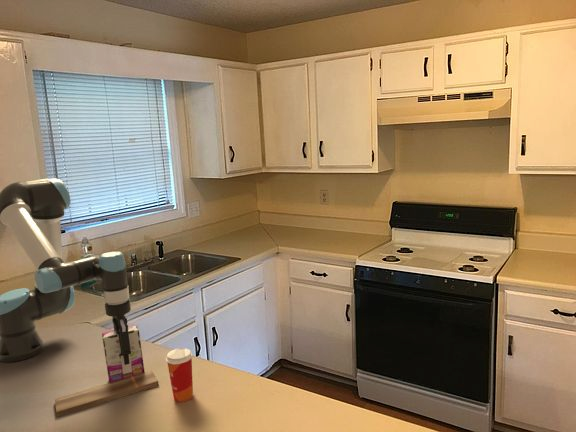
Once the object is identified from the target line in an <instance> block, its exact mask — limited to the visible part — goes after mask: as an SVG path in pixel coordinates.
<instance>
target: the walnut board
mask: <svg viewBox="0 0 576 432" xmlns="http://www.w3.org/2000/svg"><path fill="white" fill-rule="evenodd" d="M157 386H160V385H159V380H158V378H157V377H156V374H155V373H154V372H153V370H149V371H145V373H141V374H138V375H134V376H131V377H128V378H124V379H121V380H117V381H114V382H111V383H109V382H108V383H107V382H106V383H105V384H101V385H97V386H95V387H90V388H86V389H83V390H81V391H76V392H73V393H70V394H67V395H63V396H60V397H56V398H54V405H55V410H56V411H55V413H56V417H57V418H58V417H62V416H64V415H67V414H71V413H74V412H77V411H80V410H85V409H87V408H91V407H93V406H96V405H100V404H104V403H106V402H109V401H113V400H116V399H119V398H122V397H125V396H129V395H132V394H135V393H138V392H141V391H145V390H147V389H151V388H155V387H157Z"/></svg>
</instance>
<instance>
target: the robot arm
mask: <svg viewBox="0 0 576 432" xmlns="http://www.w3.org/2000/svg"><path fill="white" fill-rule="evenodd" d="M70 205H71V196H70V192H69V190H68V188H67V185H66V184H65V182H63V181H62V180H61V179H58V178H41V179H34V180H28V181H26V180H25V181H17V182H13V183H10V184H8V185H6V186H4V187H3V189H2V190H1V191H0V222H1V224H3V225H5V226H7V227H8V228H9V230H10V231H11V232H12V234H13V236H14V238H16V240H17V242H18V243H19V245H20V247H22V249H23V251H24V252H25V254H26V255H27V257H28V258H29V260H30V261H31V263H32V264H33V265H34V267H35V269H36V271H35V273H34V284H33V285H34V289H32V290H30V289H29V288H28V287H27V288H26V287H20V288H18V289H17V288H16V289H12V290H9V291H6V292H4V293H3V294H0V362H3V363H15V362H20V361H23V360H28V359H29V358H32V357H35V356H36V355H39V354H40V353H41V352H42V351H43V350H44V349H45V345H44V341H43V339H42V338H41V337H42V336H40V333H39V332H38V331H37V329H36V322H37V321H41V320H43V319H46V318H49V317H53V316H56V315H59V314H62V313H64V312H66V311H69V310H70V309H72V307H73V306H74V304H75V300H76V292H75V289H74V286H77V285H81V284H84V283H88V282H92V281H95V280H98V281H101V285H102V286H101V287H102V292H103V293H101V294H100V295H101V297H103V300H104V309H105V314H106V316H108V317H112V318H111V321H112V324H113V330H116V333H117V334H118V335H119V342H120V348H121V354H119V356H121V361H122V369H123V374H126V373H129V372H132V366H131V358H130V354H131V350H130V342H129V334H128V327H129V325H128V319H127V317H126V314H129V313H130V312H131V309H132V307H131V300H130V290H129V284H128V283H129V282H128V274H127V266H126V265H127V263H126V260H125V256H124V255H125V254H123V252H121V251H109V252H105V253H102V254H95V253H87V254H85V255H84V256H82V258H80V259H77V260H72V261H69V262H64V260H63V250H62V249H63V247H62V228H61V219H62V218H63V217H65V210H66V209H68V208H70Z"/></svg>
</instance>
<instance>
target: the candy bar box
mask: <svg viewBox="0 0 576 432" xmlns="http://www.w3.org/2000/svg"><path fill="white" fill-rule="evenodd" d="M128 334H129V342H130V350H131V354H130V358H131V366H132V372H129V373H126V374H123V369H122V361H121V356H119V354H121V348H120V342H119V335H118V334H117V333H116V330H114V329H113V330H110V331H105V332H102V333H101V336H102V337H101V338H102V339H101V340H102V344H103V350H104V358H105V365H106V370H107V371H106V372H107V376H108V377H107V378H108V383H111V382H114V381H117V380H121V379H124V378H128V377H131V376H134V375H138V374H141V373H145V372H146V371H145V365H144V357H143V352H142V351H143V349H142V342H141V337H140V336H141V335H140V329H139V327H138V325H137V324H136V325H131V326H128Z"/></svg>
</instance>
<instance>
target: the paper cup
mask: <svg viewBox="0 0 576 432" xmlns="http://www.w3.org/2000/svg"><path fill="white" fill-rule="evenodd" d="M192 359H193V353H192V352H191V350H190V349H189V348H186V347H185V348H175V349H173V350H170V351H168V353H167V355H166V357H165V361H166V363H167V368H168V373H169V379H170V386H171V390H172V394H173V399H174V401H175V402H176V403H177V402H178V403H183V402H185V403H186V402H187V401H189V400H191V399H192V398H193V395H194V393H193V392H194V391H193V390H194V389H193V388H194V387H193V386H194V385H193V382H194V381H193V362H192Z"/></svg>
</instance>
